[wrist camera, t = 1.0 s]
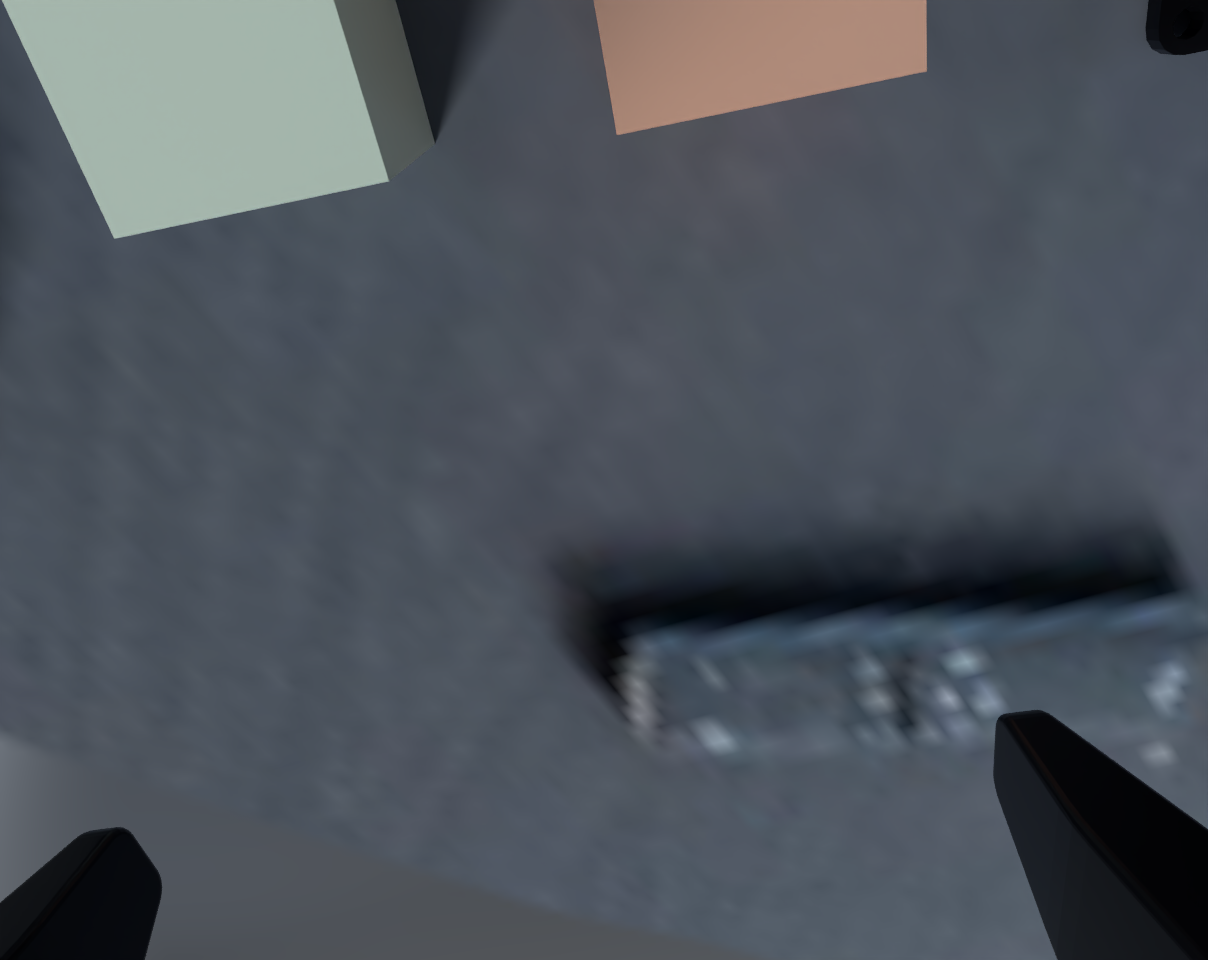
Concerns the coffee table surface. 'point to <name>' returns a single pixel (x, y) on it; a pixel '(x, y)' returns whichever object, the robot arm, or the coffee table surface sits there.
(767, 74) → the salmon pink cube
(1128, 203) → the coffee table surface
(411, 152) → the pale green cube
